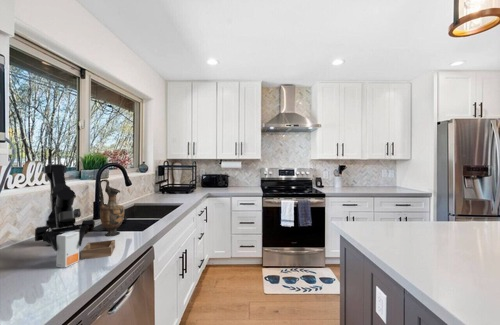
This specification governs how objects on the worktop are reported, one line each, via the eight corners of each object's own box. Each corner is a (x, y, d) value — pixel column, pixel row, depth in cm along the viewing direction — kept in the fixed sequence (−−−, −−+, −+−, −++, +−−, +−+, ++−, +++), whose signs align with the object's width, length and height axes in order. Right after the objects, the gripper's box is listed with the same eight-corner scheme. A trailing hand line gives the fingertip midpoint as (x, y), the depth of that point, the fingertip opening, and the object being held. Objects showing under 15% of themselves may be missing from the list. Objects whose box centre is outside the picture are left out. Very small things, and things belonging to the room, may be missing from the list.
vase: (121, 236, 127) (120, 179, 126) (94, 238, 124) (94, 180, 124) (127, 230, 138) (126, 178, 138) (103, 231, 135) (102, 178, 135)
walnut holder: (88, 250, 107) (88, 242, 107) (115, 247, 111) (115, 239, 111) (81, 259, 97) (81, 251, 97) (111, 255, 101) (110, 247, 101)
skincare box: (65, 268, 90) (65, 236, 90) (56, 267, 91) (55, 235, 91) (79, 261, 96) (79, 231, 96) (71, 260, 97) (70, 230, 97)
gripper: (34, 206, 89) (36, 242, 82) (93, 200, 102) (100, 231, 95) (34, 223, 95) (35, 259, 87) (89, 215, 108) (95, 246, 100)
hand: (68, 248), depth 92 cm, fingers closed on skincare box, 7 cm apart
